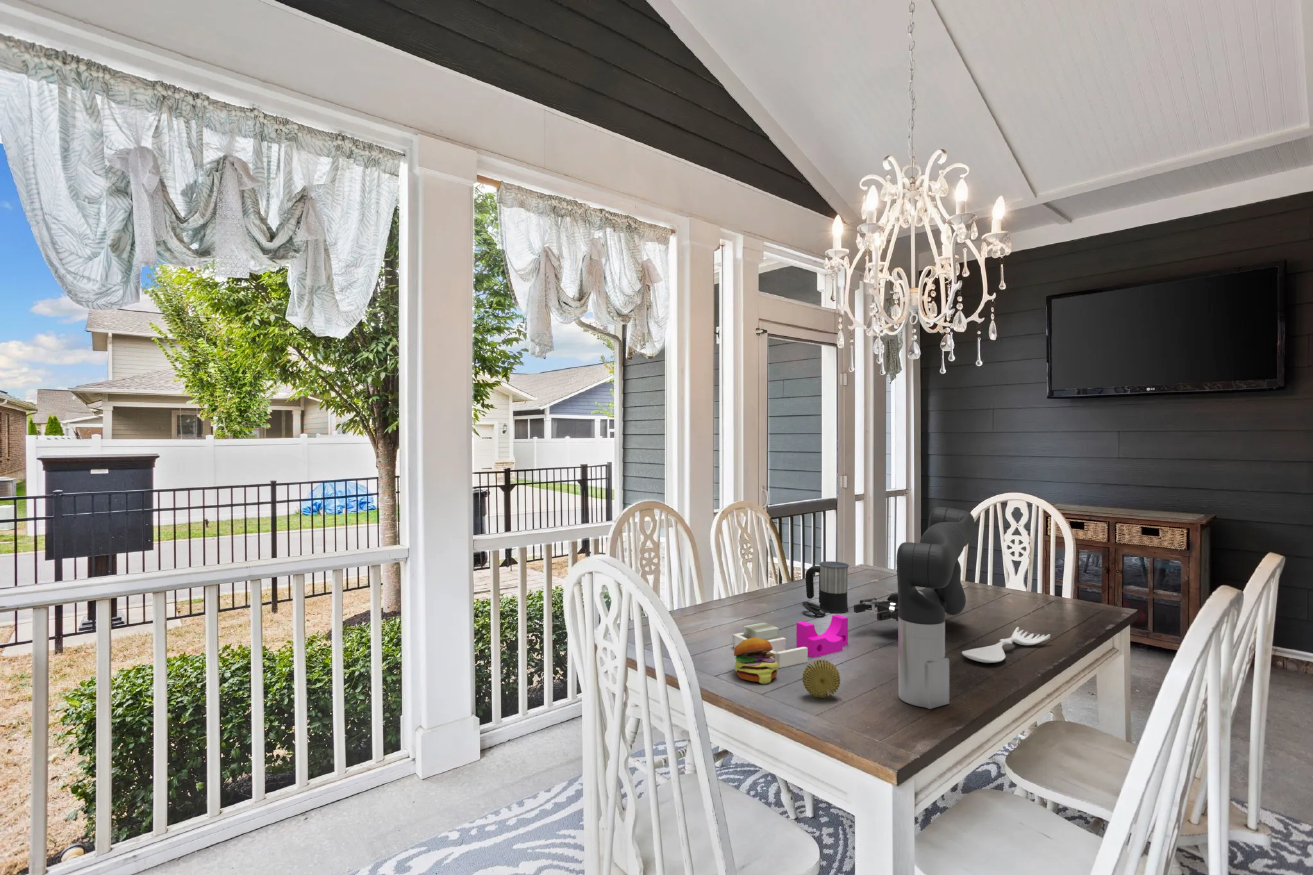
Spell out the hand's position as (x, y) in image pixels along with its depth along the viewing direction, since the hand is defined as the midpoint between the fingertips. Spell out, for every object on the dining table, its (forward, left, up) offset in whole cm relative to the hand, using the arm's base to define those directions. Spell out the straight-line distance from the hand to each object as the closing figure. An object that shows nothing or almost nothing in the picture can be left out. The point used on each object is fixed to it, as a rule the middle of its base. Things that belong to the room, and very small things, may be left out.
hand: (866, 612), depth 179 cm
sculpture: (-23, +37, -8) cm, 44 cm away
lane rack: (+4, +30, -8) cm, 31 cm away
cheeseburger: (-6, +42, -8) cm, 43 cm away
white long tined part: (-24, -25, -8) cm, 35 cm away
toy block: (0, +14, -8) cm, 16 cm away
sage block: (+8, +29, -8) cm, 31 cm away
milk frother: (+28, -11, -8) cm, 31 cm away
